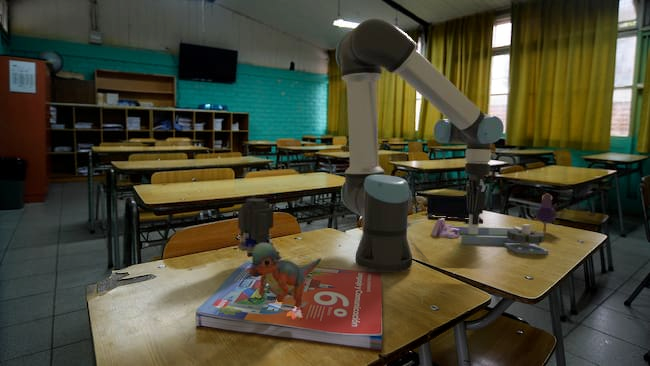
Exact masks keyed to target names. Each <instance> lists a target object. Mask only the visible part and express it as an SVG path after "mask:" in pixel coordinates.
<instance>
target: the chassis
mask: <svg viewBox="0 0 650 366" xmlns="http://www.w3.org/2000/svg"><path fill="white" fill-rule="evenodd" d="M468 227H469V226H463V225H462V226H461V225H460V226H459V225H451V228H455V229H460V231H459V235H461V237H460V242H461V243H460V244H461V245H482V246H484V245H486V246H487V245H488V246H489V245H491V246H503V247H505V248H507V249H508V250H510V251H513V252H514V253H515V254H522V255H523V254H527V255H528V254H529V255H549V250H548V249H547V248H546V249H545V248H543V247H541V243H527V242H526V243H524V242H518V241H514V240H511V239H509V238H507V232H508V230H511V229H512V230H514V229H522V232H521V234H530V233H531V231H532V225H531V224H528V223H527V224H526V223H523V224H521V227H519V226H512V227H504V226H503V227H501V226H500V227H498V226H497V227H496V226H493V227H492V226H478V234H477V235H472V234H469V233H468Z"/></svg>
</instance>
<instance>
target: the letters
mask: <svg viewBox="0 0 650 366" xmlns="http://www.w3.org/2000/svg"><path fill="white" fill-rule="evenodd" d="M445 222H446V220H445V219H444V218H441V219H438V220H436V222H435V224H434V227H433V229H432V230H431V233H430V236H433V237H437V236H438V237H440V238H448V239H453V240H454V239H456V238H459V237H460V234H459V231H460V229H455V228H451V226H452V225H451V224H449V223H446V224H445Z"/></svg>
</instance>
